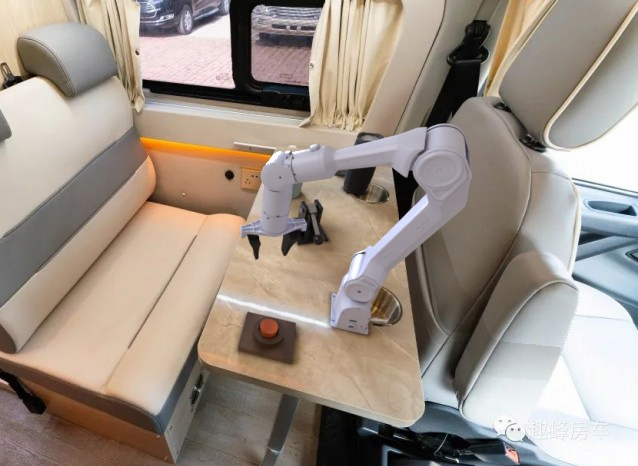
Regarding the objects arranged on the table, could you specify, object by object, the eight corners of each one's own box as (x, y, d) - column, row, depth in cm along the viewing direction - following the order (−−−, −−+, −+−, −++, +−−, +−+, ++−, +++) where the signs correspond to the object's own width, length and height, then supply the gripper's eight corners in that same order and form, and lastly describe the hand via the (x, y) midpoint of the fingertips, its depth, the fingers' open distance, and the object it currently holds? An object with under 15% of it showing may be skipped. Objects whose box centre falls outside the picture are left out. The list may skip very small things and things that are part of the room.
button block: (295, 326, 73) (297, 317, 71) (290, 364, 67) (292, 355, 64) (247, 315, 76) (247, 306, 73) (237, 350, 69) (238, 342, 67)
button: (278, 325, 70) (279, 320, 69) (275, 340, 67) (276, 335, 66) (261, 321, 71) (262, 316, 70) (258, 336, 68) (259, 331, 67)
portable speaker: (366, 184, 115) (385, 131, 102) (367, 199, 109) (386, 145, 96) (341, 180, 117) (356, 128, 104) (340, 195, 111) (356, 141, 98)
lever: (323, 246, 90) (327, 242, 87) (312, 247, 90) (316, 244, 87) (313, 206, 94) (316, 202, 91) (303, 207, 94) (306, 203, 91)
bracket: (328, 241, 94) (335, 214, 87) (297, 245, 93) (303, 218, 86) (314, 217, 102) (320, 191, 95) (286, 221, 101) (290, 194, 94)
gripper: (302, 194, 72) (294, 239, 81) (237, 201, 70) (236, 246, 79) (314, 214, 66) (303, 260, 76) (244, 222, 65) (242, 268, 74)
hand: (269, 254), depth 77 cm, fingers open, 6 cm apart
